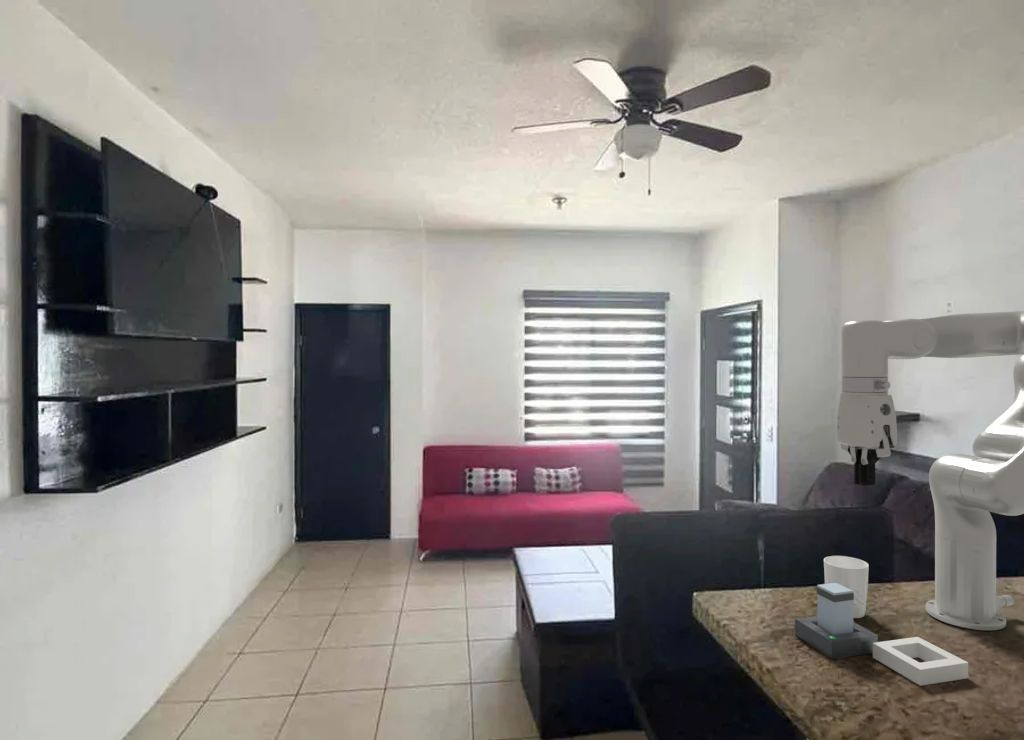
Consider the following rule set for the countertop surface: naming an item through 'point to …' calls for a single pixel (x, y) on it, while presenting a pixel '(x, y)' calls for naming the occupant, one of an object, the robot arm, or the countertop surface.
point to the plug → (835, 608)
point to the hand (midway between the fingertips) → (864, 484)
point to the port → (835, 639)
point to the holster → (932, 671)
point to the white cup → (849, 579)
